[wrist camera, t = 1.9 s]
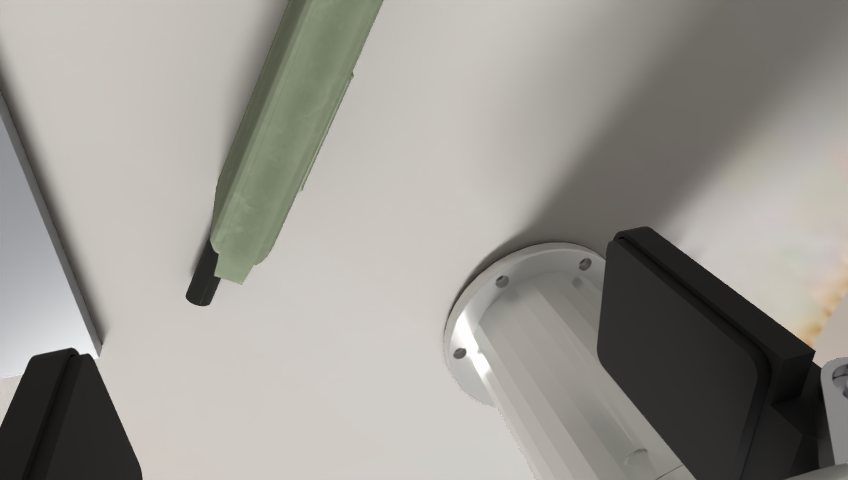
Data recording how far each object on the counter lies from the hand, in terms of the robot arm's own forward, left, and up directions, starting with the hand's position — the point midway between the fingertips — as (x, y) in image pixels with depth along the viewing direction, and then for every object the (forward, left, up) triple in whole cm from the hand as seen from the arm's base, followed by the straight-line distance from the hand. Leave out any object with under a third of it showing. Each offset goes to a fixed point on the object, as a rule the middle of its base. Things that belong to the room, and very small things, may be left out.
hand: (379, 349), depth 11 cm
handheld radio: (0, 0, -21) cm, 21 cm away
